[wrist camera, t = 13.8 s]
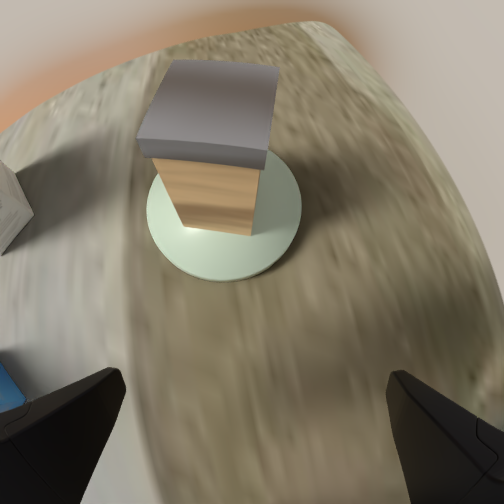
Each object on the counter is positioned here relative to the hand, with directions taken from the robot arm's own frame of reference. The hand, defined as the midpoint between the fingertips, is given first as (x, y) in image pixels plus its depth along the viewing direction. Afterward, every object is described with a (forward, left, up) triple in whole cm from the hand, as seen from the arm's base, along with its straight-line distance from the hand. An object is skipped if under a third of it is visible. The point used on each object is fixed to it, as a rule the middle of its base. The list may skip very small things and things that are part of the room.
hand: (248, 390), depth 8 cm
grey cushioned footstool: (+3, +11, -11) cm, 16 cm away
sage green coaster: (+3, +11, -13) cm, 17 cm away
